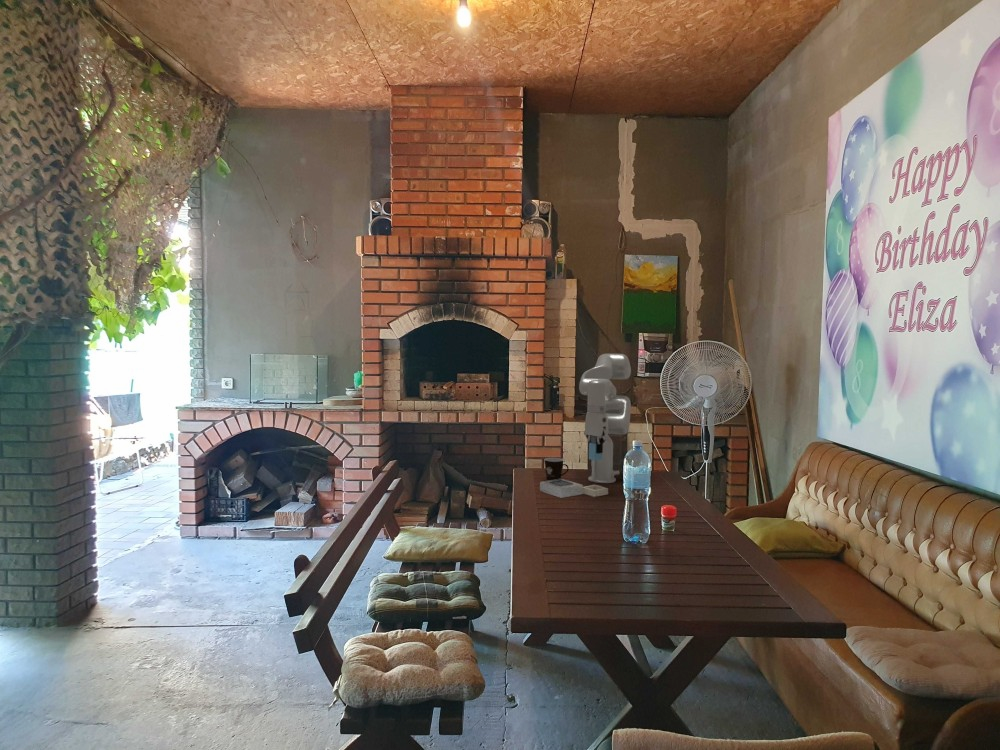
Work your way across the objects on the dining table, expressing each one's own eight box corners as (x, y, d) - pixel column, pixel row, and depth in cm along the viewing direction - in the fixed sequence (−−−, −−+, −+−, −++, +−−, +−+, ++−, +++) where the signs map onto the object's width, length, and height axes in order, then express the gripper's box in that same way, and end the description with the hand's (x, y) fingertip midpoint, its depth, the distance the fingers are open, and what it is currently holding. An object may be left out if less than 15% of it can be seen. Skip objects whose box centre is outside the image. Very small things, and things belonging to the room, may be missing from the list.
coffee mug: (540, 479, 297) (541, 458, 296) (556, 478, 300) (557, 457, 300) (553, 485, 286) (553, 463, 286) (569, 483, 290) (570, 461, 289)
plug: (595, 458, 274) (595, 435, 274) (602, 459, 271) (602, 436, 270) (588, 459, 272) (589, 435, 271) (595, 460, 269) (595, 437, 268)
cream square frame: (594, 490, 278) (595, 484, 278) (608, 494, 271) (608, 488, 271) (581, 492, 273) (581, 487, 273) (594, 496, 267) (594, 490, 266)
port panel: (561, 487, 282) (561, 477, 282) (582, 494, 271) (582, 484, 271) (539, 491, 275) (540, 481, 275) (561, 498, 264) (561, 487, 264)
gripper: (617, 411, 265) (616, 454, 267) (589, 406, 279) (588, 448, 280) (603, 412, 261) (603, 456, 262) (576, 407, 275) (575, 449, 276)
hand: (595, 451), depth 271 cm, fingers closed on plug, 4 cm apart
